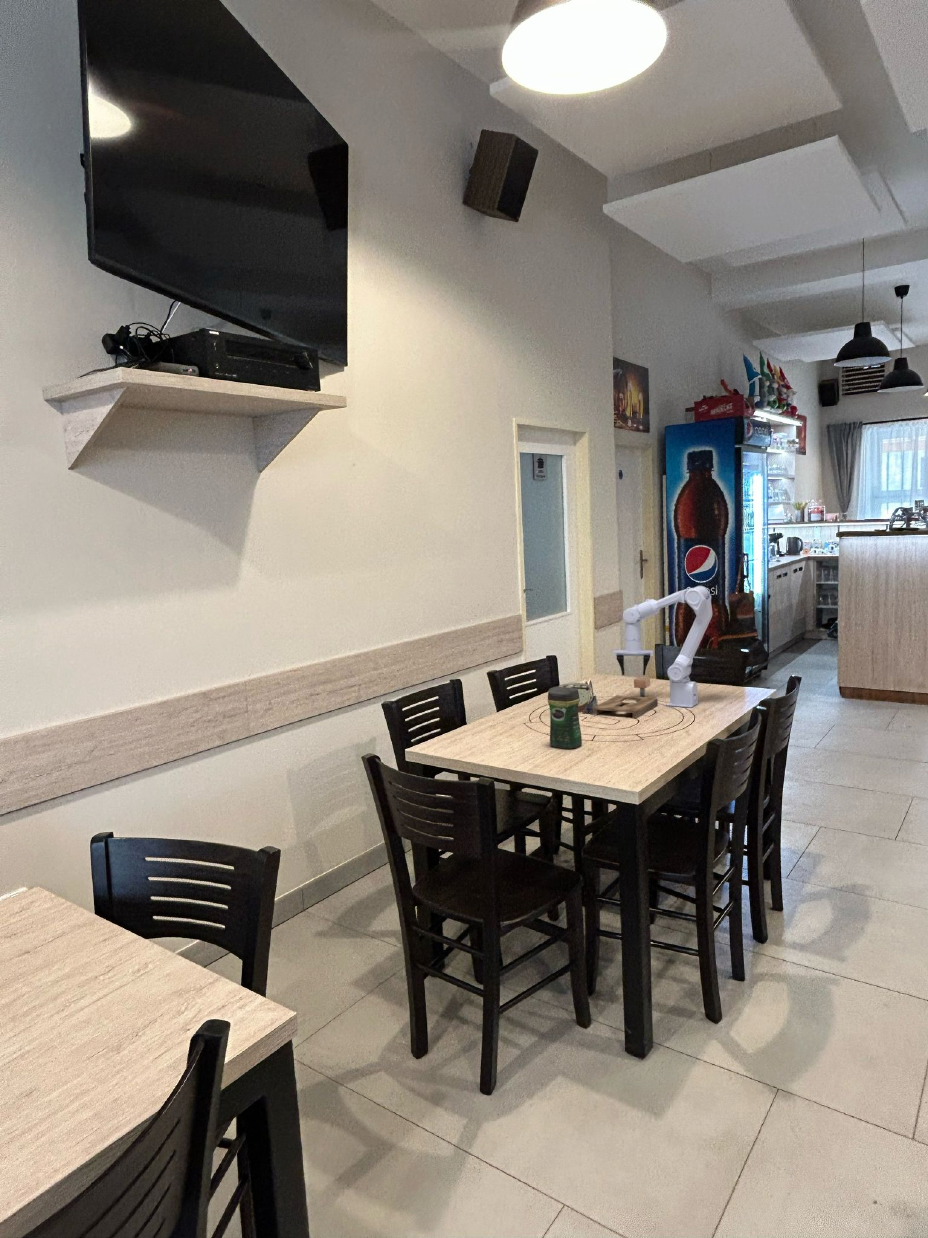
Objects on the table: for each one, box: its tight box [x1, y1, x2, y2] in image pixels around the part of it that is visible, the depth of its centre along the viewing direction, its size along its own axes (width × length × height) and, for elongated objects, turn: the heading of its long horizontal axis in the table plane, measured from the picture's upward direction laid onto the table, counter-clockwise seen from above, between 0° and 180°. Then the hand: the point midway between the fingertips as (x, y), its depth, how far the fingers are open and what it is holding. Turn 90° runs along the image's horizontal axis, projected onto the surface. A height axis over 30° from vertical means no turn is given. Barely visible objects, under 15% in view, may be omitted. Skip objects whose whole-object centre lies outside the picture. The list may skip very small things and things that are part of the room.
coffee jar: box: [547, 686, 583, 749], centre depth 246 cm, size 10×8×19 cm
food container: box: [557, 682, 592, 714], centre depth 291 cm, size 12×6×10 cm, turn 84°
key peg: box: [633, 677, 651, 703], centre depth 300 cm, size 5×5×8 cm
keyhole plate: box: [592, 694, 659, 719], centre depth 287 cm, size 16×20×3 cm
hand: (633, 674), depth 299 cm, fingers open, 7 cm apart
